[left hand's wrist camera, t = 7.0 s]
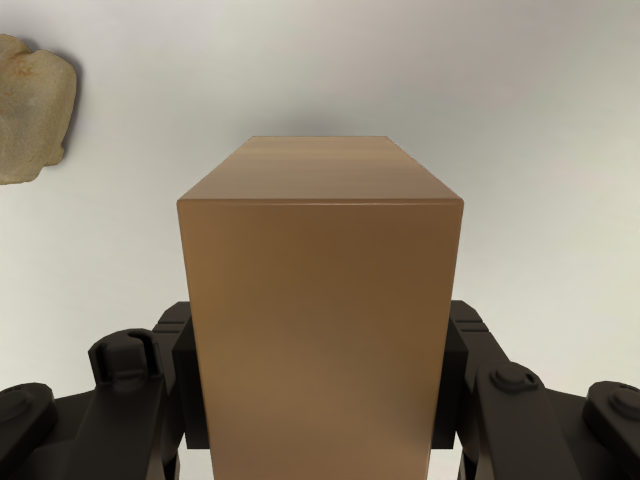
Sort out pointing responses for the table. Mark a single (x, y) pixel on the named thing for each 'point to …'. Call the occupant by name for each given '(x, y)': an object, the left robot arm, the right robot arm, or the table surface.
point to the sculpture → (32, 109)
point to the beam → (320, 307)
